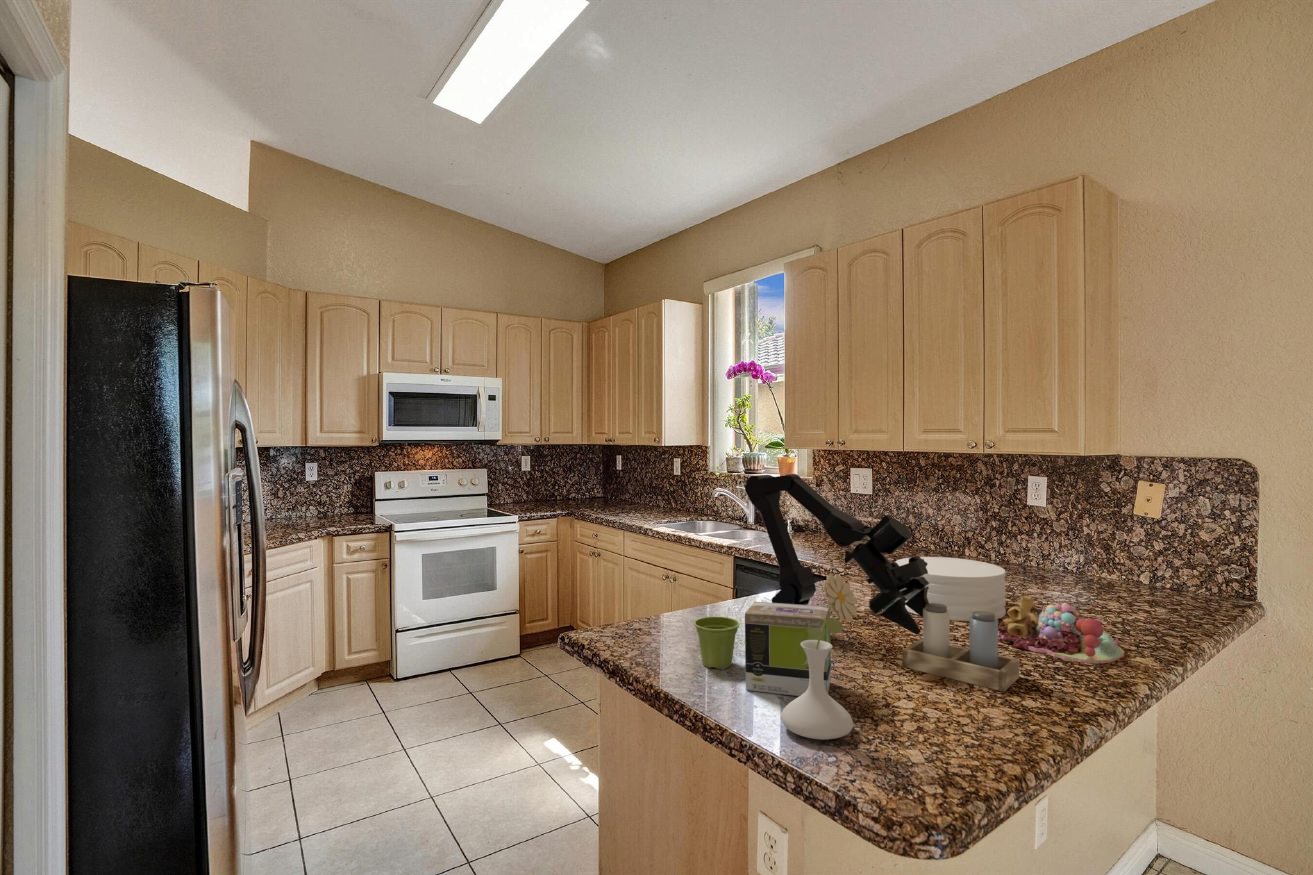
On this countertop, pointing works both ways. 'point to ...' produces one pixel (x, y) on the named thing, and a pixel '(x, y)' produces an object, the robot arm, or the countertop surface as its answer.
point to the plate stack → (964, 586)
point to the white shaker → (936, 630)
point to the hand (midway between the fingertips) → (927, 628)
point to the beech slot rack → (962, 667)
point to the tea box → (782, 646)
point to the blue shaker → (983, 639)
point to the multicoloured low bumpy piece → (1059, 633)
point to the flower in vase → (822, 674)
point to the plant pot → (716, 640)
